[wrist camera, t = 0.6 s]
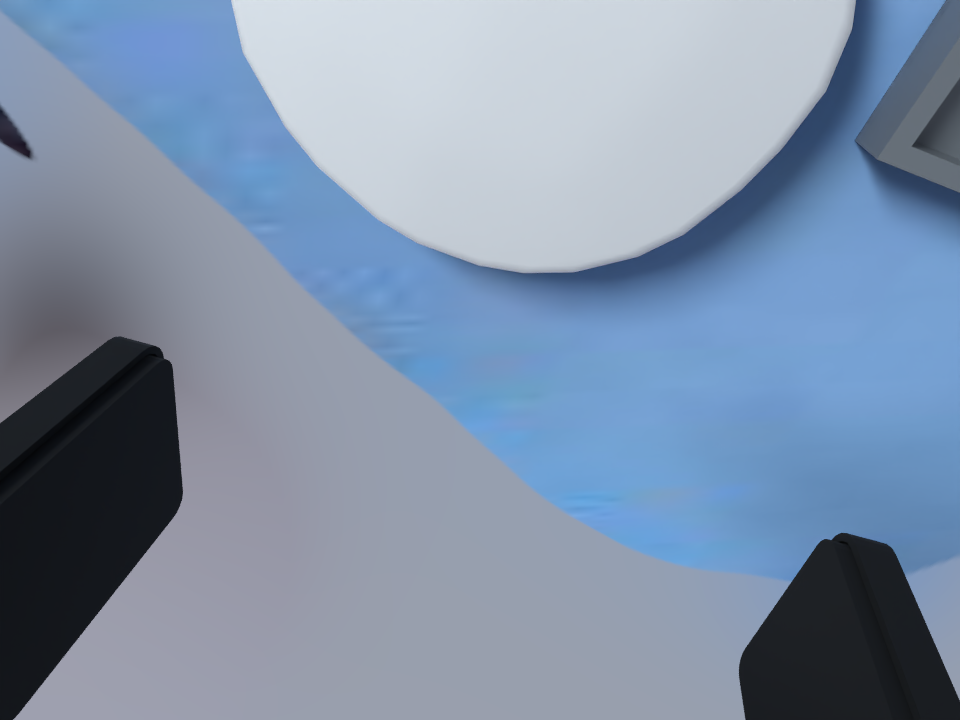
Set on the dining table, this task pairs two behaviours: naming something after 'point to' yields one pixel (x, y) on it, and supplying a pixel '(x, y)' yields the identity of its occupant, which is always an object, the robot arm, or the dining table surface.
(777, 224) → the dining table surface
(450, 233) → the plate
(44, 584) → the robot arm
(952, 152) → the tray
